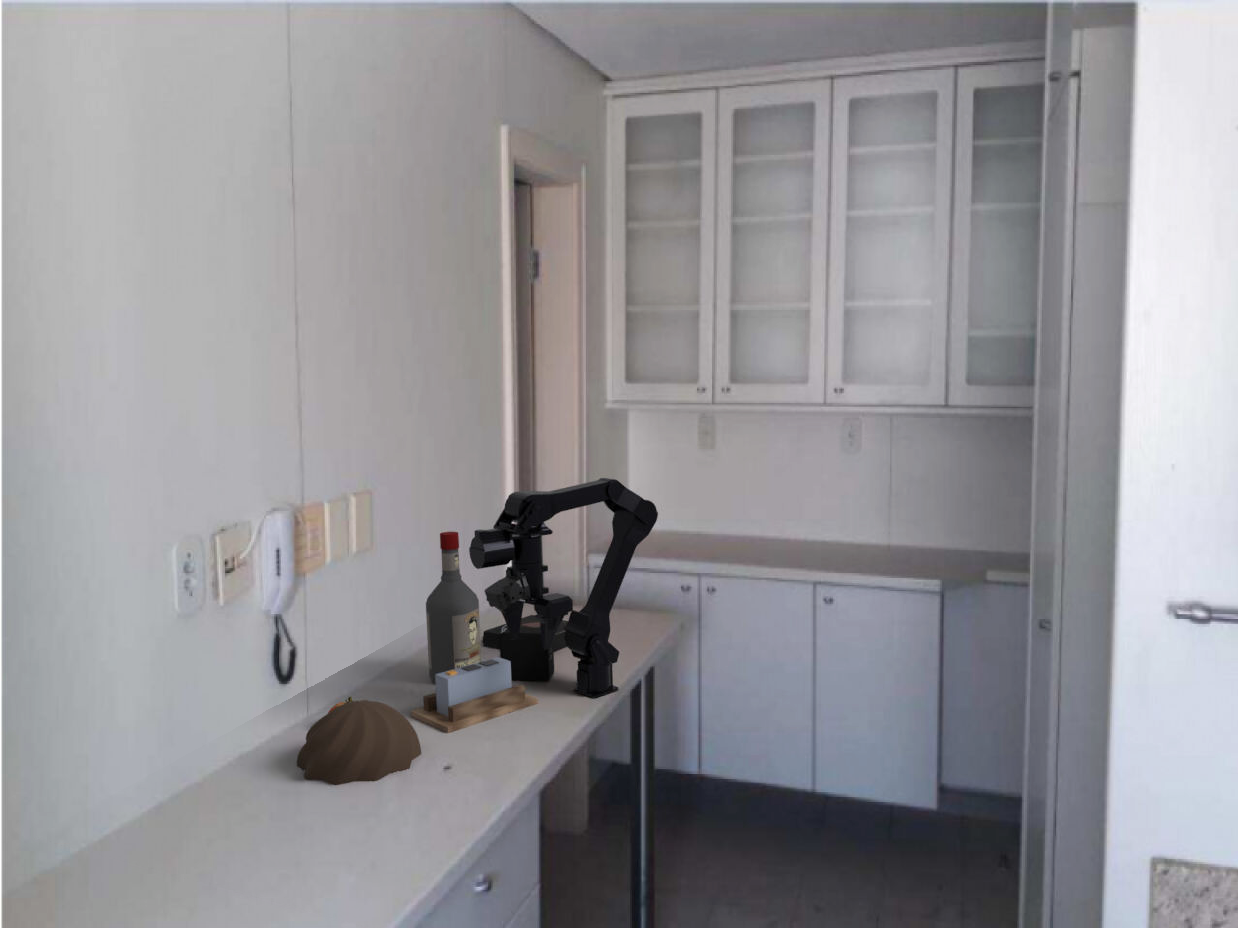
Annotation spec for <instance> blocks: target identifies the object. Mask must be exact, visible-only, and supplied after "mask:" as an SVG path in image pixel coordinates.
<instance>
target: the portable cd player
mask: <svg viewBox="0 0 1238 928" xmlns="http://www.w3.org/2000/svg"><path fill="white" fill-rule="evenodd" d="M534 615H535V614H530V615H526V616H525V617H522V618H521V625H520V627H528V628H540V622H539V621H538V620H537V619H536V618H535V617H534ZM567 623H568V620H564V619H563V620H562V621H561V623H560V625H559V627H558V629H557V631H556V634H555V636H554V638H553V645H554V653H555V652H558V651H560V650H563V649H566V648H568V647H567V645H566V643H565V640H564V635H565V631H566V630H564V627H565V626H566V625H567ZM507 628H508V627H507V625H506V623H504V624H501V625H497V626H494V627H492V628H489V629H487V630H484V631H483V634H482V635H483V636H482V641H481V642H482V643H481V644H482V646H483V647H485V648H490V649H495V650H499V651H500V634H501V631H504V629H507Z"/></svg>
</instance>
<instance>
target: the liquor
mask: <svg viewBox="0 0 1238 928" xmlns="http://www.w3.org/2000/svg"><path fill="white" fill-rule="evenodd" d="M459 537H460V536H459V532H458V531H443V532H440V533H439V543H440V546H439V547H440V549H441V551H440V552H441V553H440V554H441V577H440V582H438V584H437V586H435V587H434V589H433V590H432V591H431V593H430V594H429V595H428V597H427V599H426V602H425V614H426V615H425V617H426V632H427V633H426V635H427V636H426V637H427V638H426V639H427V653H428V655H427V656H428V659H427V660H428V675H429V678H430V679H431V682H432V683H434V684H435V685H436V679H435V674H439V673H442V672H446V671H449V670H453V669H457V668H460V667H464V666H467V665H471V664H474V663H478V662H482V648H481V647H482V646H481V645H482V643H481V628H480V627H481V625H480V624H481V623H480V622H481V621H480V603H479V602H480V601H479V598H478V596H477V594H476V592H474V591H473V590H472V588H470V586H468V585H467V583H466V582H464V581H463V580H462V575H461V572H460V558H459V557H460V555H459V553H460V552H459V548H460V538H459Z"/></svg>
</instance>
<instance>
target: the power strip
mask: <svg viewBox="0 0 1238 928" xmlns="http://www.w3.org/2000/svg"><path fill="white" fill-rule="evenodd" d="M435 679H436V684H435V693H436V700H437V712H438V713H441V714H443V715H445V716H448V707H449V706H452V705H455V704H459V703H462V702H465V701H468V700H471V699H475V698H478V697H481V696H484V695H488V694H491V693H494V692H497V691H501V690H504V689H507V688H510V687H513V686H512V685H513V683H512V681H511V661H508V660H505V659H502V658H500V657H499V656H497V657H493V658H490V659H486V660H481V662H478V663H474V664H471V665H467V666H464V667H460V668H457V669H453V670H449V671H446V672H442V673H439V674H435Z"/></svg>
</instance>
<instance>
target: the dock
mask: <svg viewBox="0 0 1238 928" xmlns="http://www.w3.org/2000/svg"><path fill="white" fill-rule="evenodd" d="M525 688H526V687H525V685H521V684H518V685H514V686H512V687H510V688H507V689H504V690H501V691H497V692H494V693H491V694H488V695H484V696H481V697H478V698H475V699H471V700H468V701H465V702H462V703H459V704H455V705H452V706H449V707H448V716H445V715H443V714H441V713H438V712H437V700H436V692H434V693H431V694H427V695H424V696H423V699H422V701H423V707H419V708H416V709H412V710H410V717H412V718H414V719H416V720H419V721H421V722H422V723H426V724H427V725H430V726H432V727H434V728H436V729H439V730H441V731H443V732H445V733H447V734H448V733H449V734H450V733H452V732H456V731H458V730H461V729H465V728H467V727H470V726H473V725H476V724H480V723H483V722H486V721H488V720H492V719H495V718H498V717H500V716H503V715H508V714H509V712H510V713H513V712H516V711H519V710H522V709H526V708H528V707H530V706H531V707H532V706H534V705H537V704H538V703H539V699H538V697H537V696H533V695H531V694H527V693H525V692H526V691H525ZM512 711H513V712H512ZM497 716H498V717H497Z"/></svg>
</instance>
